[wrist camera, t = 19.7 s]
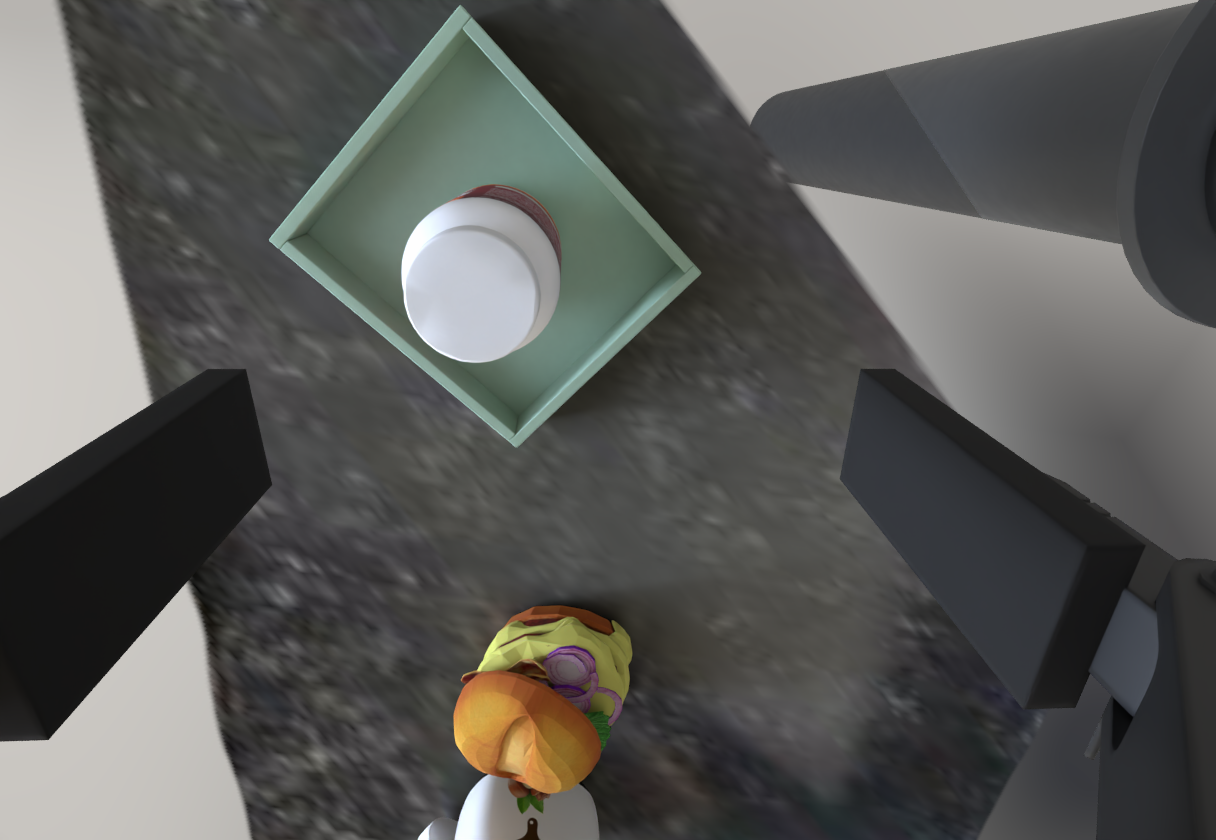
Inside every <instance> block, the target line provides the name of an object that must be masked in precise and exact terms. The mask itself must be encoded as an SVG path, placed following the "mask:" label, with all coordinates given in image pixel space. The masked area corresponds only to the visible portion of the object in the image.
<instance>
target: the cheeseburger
mask: <svg viewBox="0 0 1216 840" xmlns="http://www.w3.org/2000/svg"><path fill="white" fill-rule="evenodd" d="M611 622H612V624H611V623H610V622H609V621H608V620H607V619H605V618H603V617H601V616H598V615H596V614H594V613H592V612H590V611H588V610H584V609H578V608H573V607H567V606H562V605H557V606H535V607H532V608H530V609H528V610H526V611H524V612H521V613H519V614H517V615H515V616H513V617H512V618H511V619H510V620H509V621H508V622H507V624H506V625H505V626H504V627H503V629H502V630H500V631H499V632H498V633H497V635H496V637H495V639H494V640H493V641H492V643H491V644H490V646H489V648H488V650H487V652H486V654H485V656H484V660H483V661H482V662H481V664H480V666H479V668H478V670H477V671H472V672H469V673H466V674H464V675H463V677H462V679H461V681H462V682H463V683H467V684H466V685H465V686H464V688H463V690H462V692H461V694H460V696H459V698H458V701H457V704H456V708H455V712H454V734H455V741H456V745H457V746H458V748H459V749H460V751H461V752H462V754H463V755H464V756H465V758H466V759H467V760H468V762H469V763H470V764H471V765H472V766H474V767H475V768H476V769H478V770H480V771H481V772H483V773H486V774H489V775H492V776H496V777H501V778H509V779H513V780H516V781H519V782H522V783H526V784H527V785H529V786H530V787H532V788H534V789H536V790H538V791H540V792H543V793H547V794H550V793H559V792H563V791H568V790H571V789H572V788H573V787H575V786H576V785H577V784H578V783H580V782H581V781H582V780H583V779H584V778H585V777H586V776H587V775H588V774H589V773H590V772H591V771H592V769H593V768H594V766H595V765H596V763H597V762H598V760H599V759H600V755H601V751H602V750H603V749H604V747H605V746H606V740H607V739H608V738H609V737H610V733H609V732H610V730H611V727H610V726H611V725H612V724H613V723H614V722H615V721H616V720H617V719H618V717H619V715H620V713H621V711H622V704H623V701H624V699H625V697H626V694H627V692H628V689H629V681H630V676H629V668H628V667H629V666H628V665H629V663H630V662H631V659H632V647H631V641H630V637H629V635H628V634H627V633H626V632H625V630H624V629H623V628H622V627H621V626H620V625H619V624H618V623H617V622H615V621H614V620H612V621H611ZM612 625H613V626H612Z"/></svg>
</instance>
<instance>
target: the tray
mask: <svg viewBox="0 0 1216 840" xmlns="http://www.w3.org/2000/svg"><path fill="white" fill-rule="evenodd" d="M491 184H500V185H507V186H512V187H515V188H518V189H520V190H523V191H525V192H526V193H528V194H530V195H531V196H533V197H534V198H535V199H537V200H538V201H539V202H540V203H541V204H542V205H543V206H544V207H545V208H546V210H547V211H548V212H549V214H550V215H551V217H552V219H553V220H554V222H555V225H556V227H557V230H558V233H559V236H560V241H561V252H562V255H561V258H562V260H561V285H560V293H559V298H558V302H557V305H556V308H555V311H554V313H553V315H552V317H551V319H550V321H549V323H548V324H547V326H546V327H545V328H544V329H543V331H542V332H541V333H540V334H539V335H538V336H537V337H536V338H535V339H534V340H532V341H531V342H530V343H528V344H527V345H525V346H523V347H522V348H520V349H518V350H516V351H513V352H511V353H510V354H508V355H506V356H504V357H502V358H499V359H496V360H493V361H489V362H481V363H471V362H463V361H459V360H455V359H452V358H449V357H447V356H445V355H443V354H441V353H439V352H438V351H436V350H435V349H433V348H432V347H431V346H430V345H428V344H427V343H426V342H425V341H424V340H423V339H422V338H421V337H420V335H419V334H418V333H417V331H416V330H415V328H414V327H413V325H412V323H411V321H410V320H409V317H408V314H407V311H406V307H405V303H404V290H403V285H402V259H403V254H404V251H405V247H406V245H407V242H408V240H409V238H410V236H411V234H412V233H413V231H414V229H415V228H416V227H417V225H418V224H419V223H420V222H421V221H422V220H423V219H424V218H425V217H426V216H427V215H429V214H430V213H431V212H432V211H434V210H435V209H436V208H438V207H440V206H442V205H443V204H445V203H447V202H448V201H450V200H452V199H454V198H456V197H457V196H459V195H461V194H463V193H464V192H466V191H468V190H470V189H472V188H476V187H479V186H483V185H491ZM269 241H270V242H271V243H273V244H274V245H275V246H276V247H277V248H279V249H281V251H282V252H283V253H285V254H286V255H287V256H288V257H289V258H290V259H292V260H293V261H294V262H295V263H296V264H298V265H299V266H300V267H301V268H302V269H304V270H305V271H306V272H307V273H308V274H310V275H311V276H312V277H313V278H314V279H316V280H317V281H318V282H319V283H320V284H322V285H323V286H324V287H325V288H326V289H327V290H329V291H330V292H331V293H332V294H333V295H335V296H336V297H337V298H338V299H339V300H341V301H342V302H343V303H344V304H345V305H347V306H348V307H349V308H350V309H351V310H353V311H354V312H355V313H356V314H357V315H359V316H360V317H361V318H362V319H363V320H364V321H366V322H367V323H368V324H369V325H370V326H372V327H373V328H374V329H375V330H376V331H378V332H379V333H380V334H381V335H382V336H384V337H385V338H386V339H387V340H388V341H390V342H391V343H392V344H393V345H394V346H396V347H397V348H398V349H399V350H400V351H401V352H403V353H404V354H405V355H406V356H407V357H409V358H410V359H411V360H412V361H413V362H415V363H416V364H417V365H418V366H419V367H421V368H422V369H423V370H424V371H425V372H427V373H428V374H429V375H430V376H431V377H433V378H434V379H435V380H436V381H437V382H438V383H440V384H441V385H442V386H443V387H444V388H446V389H447V390H448V391H449V392H450V393H452V394H453V395H454V396H455V397H456V398H458V399H459V400H460V401H461V402H462V403H464V404H465V405H466V406H467V407H468V408H470V409H471V410H472V411H473V412H474V413H475V414H477V415H478V416H479V417H480V418H481V419H483V420H484V421H485V422H486V423H487V424H489V425H490V426H491V427H492V428H493V429H495V430H496V431H497V432H498V433H499V434H501V435H502V436H503V437H504V438H505V439H507V440H509V442H510V443H511V444H512V445H514V446H515V447H516V448H517V447H518V446H519V445H520V444H521V443H522V442H524V441H525V440H526V439H527V438H528V437H529V436H530V435H531V434H532V433H533V432H534V431H535V430H536V429H537V428H538V427H539V426H540V425H542V424H543V423H544V422H545V421H546V420H547V419H548V418H549V417H550V416H551V415H552V414H553V413H554V412H555V411H556V410H557V409H558V408H560V407H561V406H562V405H563V404H564V403H565V402H566V401H567V400H568V399H569V398H570V397H571V396H572V395H573V394H574V393H575V392H576V391H578V390H579V389H580V388H581V387H582V386H583V385H584V384H585V383H586V382H587V381H588V380H589V379H590V378H591V377H592V376H593V375H594V374H596V373H597V372H598V371H599V370H600V369H601V368H602V367H603V366H604V365H605V364H606V363H607V362H608V361H609V360H610V359H611V358H612V357H614V356H615V355H616V354H617V353H618V352H619V351H620V350H621V349H622V348H623V347H624V346H625V345H626V344H627V343H628V342H629V341H630V340H632V339H633V338H634V337H635V336H636V335H637V334H638V333H639V332H640V331H641V330H642V329H643V328H644V327H645V326H646V325H647V324H648V323H650V322H651V321H652V320H653V319H654V318H655V317H656V316H657V315H658V314H659V313H660V312H661V311H662V310H663V309H664V308H665V307H666V306H668V305H669V304H670V303H671V302H672V301H673V300H674V299H675V298H676V297H677V296H678V295H679V294H680V293H681V292H682V291H683V290H684V289H686V288H687V287H688V286H689V285H690V284H691V283H692V282H693V281H694V280H695V279H696V278H697V277H698V276H699V275H700V274H701V271H700V270H699V269H698V268H697V267H696V266H695V265H694V264H693V262H692V261H691V260H690V259H689V258H688V257H687V256H686V255H685V254H684V252H683V251H682V250H681V249H680V248H679V247H678V246H677V245H676V244H675V242H674V241H673V240H672V239H671V238H670V237H669V236H668V235H667V234H666V232H665V231H664V230H663V229H662V228H661V227H660V226H659V225H658V224H657V222H656V221H655V220H654V219H653V218H652V217H651V216H650V215H649V214H648V212H647V211H646V210H645V209H644V208H643V207H642V206H641V205H640V203H639V202H638V201H637V200H636V199H635V198H634V197H633V196H632V195H631V193H630V192H629V191H628V190H627V189H626V188H625V187H624V186H623V185H622V183H621V182H620V181H619V180H618V179H617V178H616V177H615V176H614V175H613V173H612V172H611V171H610V170H609V169H608V168H607V167H606V166H605V165H604V163H603V162H602V161H601V160H600V159H599V158H598V157H597V156H596V154H595V153H594V152H593V151H592V150H591V149H590V148H589V147H588V146H587V144H586V143H585V142H584V141H583V140H582V139H581V138H580V137H579V136H578V134H577V133H576V132H575V131H574V130H573V129H572V128H571V127H570V126H569V124H568V123H567V122H566V121H565V120H564V119H563V118H562V117H561V116H560V114H559V113H558V112H557V111H556V110H555V109H554V108H553V107H552V106H551V104H550V103H549V102H548V101H547V100H546V99H545V98H544V97H543V95H542V94H541V93H540V92H539V91H538V90H537V89H536V88H535V87H534V85H533V84H532V83H531V82H530V81H529V80H528V79H527V78H526V77H525V75H524V74H523V73H522V72H521V71H520V70H519V69H518V68H517V67H516V65H515V64H514V63H513V62H512V61H511V60H510V59H509V58H508V57H507V55H506V54H505V53H504V52H503V51H502V50H501V49H500V48H499V46H498V45H497V44H496V43H495V42H494V41H493V40H492V39H491V38H490V36H489V35H488V34H487V33H486V32H485V31H484V30H483V29H482V28H481V26H480V25H479V24H478V23H477V22H476V21H475V20H474V19H473V18H472V17H471V15H470V14H469V13H468V12H467V11H466V10H465V9H464V8H463V6H461V5H460V6H459V7H458V8H457V9H456V10H455V12H454V13H453V14H452V15H451V17H450V18H449V19H448V20H447V21H446V23H445V24H444V25H443V26H442V28H441V29H440V30H439V31H438V32H437V34H436V35H435V36H434V37H433V39H432V40H431V41H430V42H429V44H428V45H427V46H426V47H425V48H424V50H423V51H422V52H421V53H420V55H419V56H418V57H417V58H416V60H415V61H414V62H413V63H412V64H411V66H410V67H409V68H408V69H407V71H406V72H405V73H404V74H403V75H402V77H401V78H400V79H399V80H398V82H397V83H396V84H395V85H394V87H393V88H392V89H391V90H390V91H389V93H388V94H387V95H386V96H385V98H384V99H383V100H382V101H381V102H380V104H379V105H378V106H377V107H376V109H375V110H374V111H373V112H372V114H371V115H370V116H369V117H368V118H367V120H366V121H365V122H364V123H363V125H362V126H361V127H360V128H359V129H358V131H357V132H356V133H355V134H354V136H353V137H352V138H351V139H350V141H349V142H348V143H347V144H346V145H345V147H344V148H343V149H342V150H341V152H340V153H339V154H338V155H337V157H336V158H335V159H334V160H333V161H332V163H331V164H330V165H329V166H328V168H327V169H326V170H325V171H324V172H323V174H322V175H321V176H320V177H319V179H318V180H317V181H316V182H315V184H314V185H313V186H312V187H311V188H310V190H309V191H308V192H307V193H306V195H305V196H304V197H303V198H302V199H301V201H300V202H299V203H298V204H297V206H296V207H295V208H294V209H293V211H292V212H291V213H290V214H289V215H288V217H287V218H286V219H285V220H284V222H283V223H282V224H281V225H280V226H279V228H278V229H277V230H276V231H275V233H274V234H273V235H272V236H271V238H270V239H269Z"/></svg>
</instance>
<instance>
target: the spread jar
mask: <svg viewBox="0 0 1216 840" xmlns="http://www.w3.org/2000/svg"><path fill="white" fill-rule="evenodd" d="M418 840H599V827H598V818H597V813H596V807H595V804H594V801H593V798H592V796H591V794H590V793H589V791H588V790H587V788H586V787H585V786H584V784H583V783H582V782H580V783H578V784H577V785H576V786H575V787H573V788H572V789H571V790H568V791H563V792H559V793H550V794H547V793H543V792H540V791H538V790H536V789H534V788H532V787H530V786H529V785H527V784H526V783H522V782H519V781H516V780H513V779H509V778H501V777H496V776H492V775H489V774H485V775H484V776H483V777H482V778H481V779H480V780H479V781H478V782H477V783H476V784H475V786H474V787H473V789H472V790H471V792H470V793H469V795H468V796H467V798H466V801H465V803H464V806H463V808H462V811H461V814H460V817H459V821H458V822H457V821H456V820H453V819H451V818H446V817H440V818H437V819H435V820H434V821H433V822H432V823H431V824H430V825H429V826H428V827H427V828H426V829H425V830H424V831H423V832H422V834H421V835H420V836H419V838H418Z"/></svg>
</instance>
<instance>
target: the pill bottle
mask: <svg viewBox="0 0 1216 840" xmlns="http://www.w3.org/2000/svg"><path fill="white" fill-rule="evenodd" d="M561 255H562V252H561V241H560V236H559V233H558V230H557V227H556V225H555V222H554V220H553V219H552V217H551V215H550V214H549V212H548V211H547V210H546V208H545V207H544V206H543V205H542V204H541V203H540V202H539V201H538V200H537V199H535V198H534V197H533V196H531V195H530V194H528V193H526V192H525V191H523V190H520V189H518V188H515V187H512V186H507V185H500V184H491V185H483V186H479V187H476V188H472V189H470V190H468V191H466V192H464V193H463V194H461V195H459V196H457V197H456V198H454V199H452V200H450V201H448V202H447V203H445V204H443V205H442V206H440V207H438V208H436V209H435V210H434V211H432V212H431V213H430V214H429V215H427V216H426V217H425V218H424V219H423V220H422V221H421V222H420V223H419V224H418V225H417V227H416V228H415V229H414V231H413V233H412V234H411V236H410V238H409V240H408V242H407V245H406V247H405V251H404V254H403V259H402V285H403V290H404V303H405V307H406V311H407V314H408V317H409V320H410V321H411V323H412V325H413V327H414V328H415V330H416V331H417V333H418V334H419V335H420V337H421V338H422V339H423V340H424V341H425V342H426V343H427V344H428V345H430V346H431V347H432V348H433V349H435V350H436V351H438V352H439V353H441V354H443V355H445V356H447V357H449V358H452V359H455V360H459V361H463V362H471V363H481V362H489V361H493V360H496V359H499V358H502V357H504V356H506V355H508V354H510V353H511V352H513V351H516V350H518V349H520V348H522V347H523V346H525V345H527V344H528V343H530V342H531V341H532V340H534V339H535V338H536V337H537V336H538V335H539V334H540V333H541V332H542V331H543V329H544V328H545V327H546V326H547V324H548V323H549V321H550V319H551V317H552V315H553V313H554V311H555V308H556V305H557V302H558V298H559V293H560V285H561V260H562V258H561Z"/></svg>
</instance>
